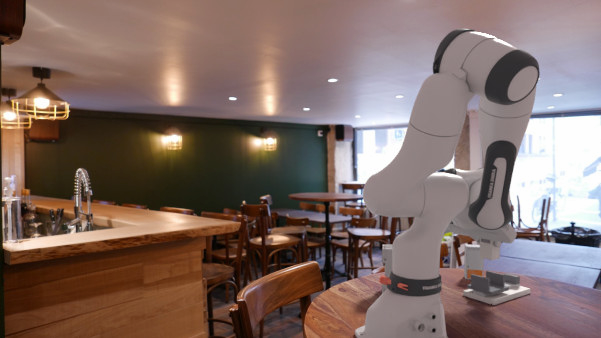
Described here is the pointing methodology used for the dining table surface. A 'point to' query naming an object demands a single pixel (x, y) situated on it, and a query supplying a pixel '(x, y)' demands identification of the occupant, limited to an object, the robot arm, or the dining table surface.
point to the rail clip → (493, 283)
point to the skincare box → (473, 261)
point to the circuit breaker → (387, 261)
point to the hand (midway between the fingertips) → (489, 244)
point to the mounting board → (499, 295)
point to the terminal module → (489, 250)
